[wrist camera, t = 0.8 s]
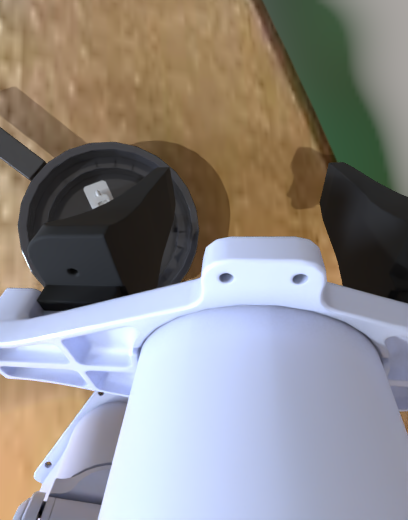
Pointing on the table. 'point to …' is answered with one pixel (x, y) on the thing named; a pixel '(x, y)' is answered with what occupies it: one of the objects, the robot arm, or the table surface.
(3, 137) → the pan handle
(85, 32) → the table surface
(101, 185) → the lighter
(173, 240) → the pan
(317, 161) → the table surface
